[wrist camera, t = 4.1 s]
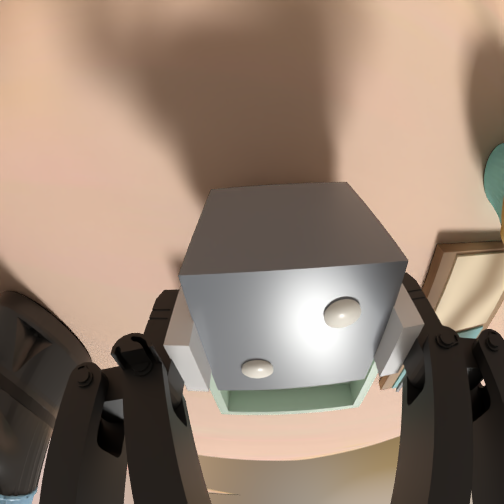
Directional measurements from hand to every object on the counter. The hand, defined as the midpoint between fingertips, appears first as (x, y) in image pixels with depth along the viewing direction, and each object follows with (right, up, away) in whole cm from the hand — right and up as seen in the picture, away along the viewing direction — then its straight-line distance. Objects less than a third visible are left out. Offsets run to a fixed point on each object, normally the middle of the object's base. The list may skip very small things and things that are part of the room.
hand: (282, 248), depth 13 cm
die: (0, 0, 0) cm, 0 cm away
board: (+17, -7, +7) cm, 20 cm away
